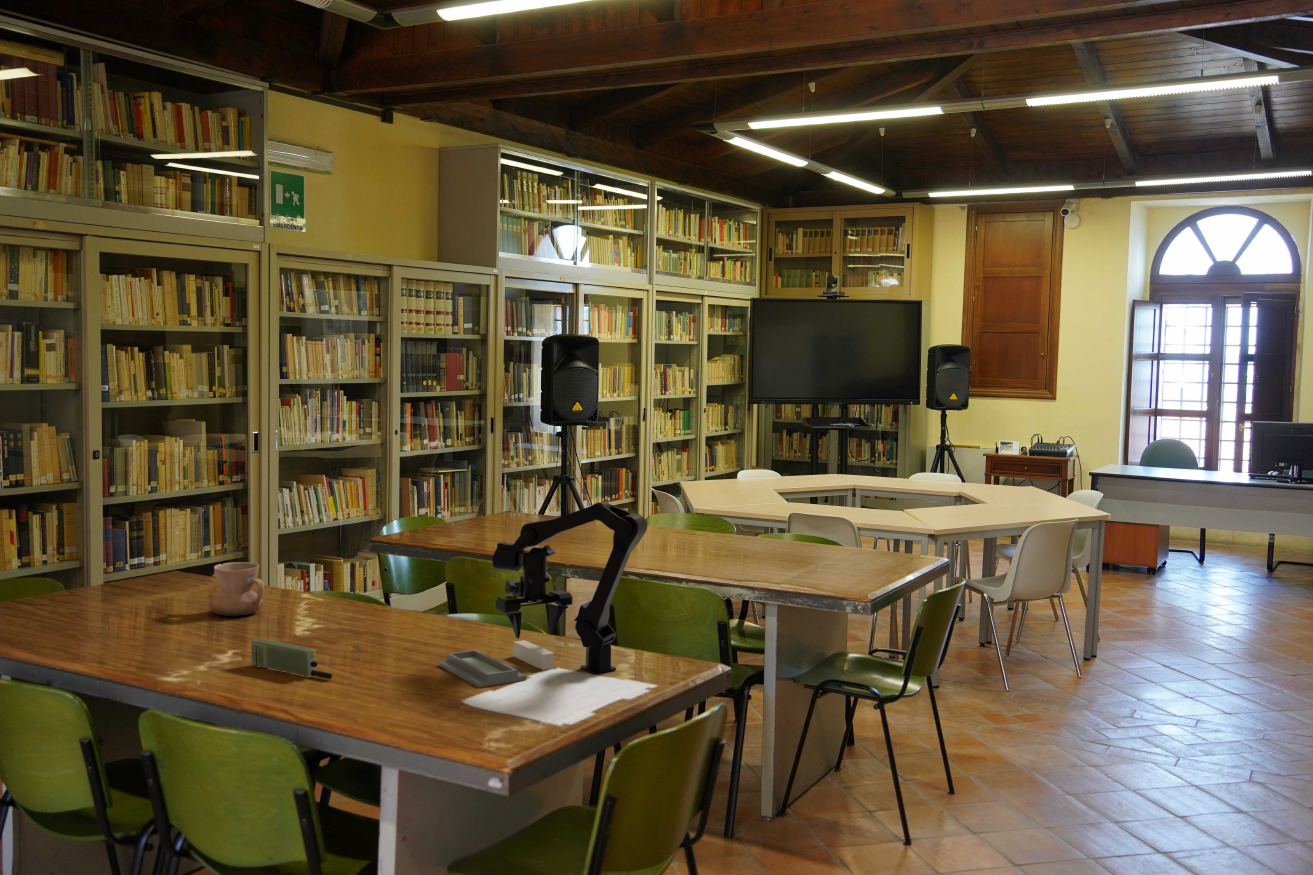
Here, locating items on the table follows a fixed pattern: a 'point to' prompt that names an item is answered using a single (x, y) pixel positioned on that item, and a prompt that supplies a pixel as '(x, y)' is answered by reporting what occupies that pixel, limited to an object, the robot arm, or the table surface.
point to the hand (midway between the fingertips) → (534, 635)
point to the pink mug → (237, 589)
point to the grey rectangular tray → (480, 669)
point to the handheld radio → (286, 658)
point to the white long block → (534, 655)
